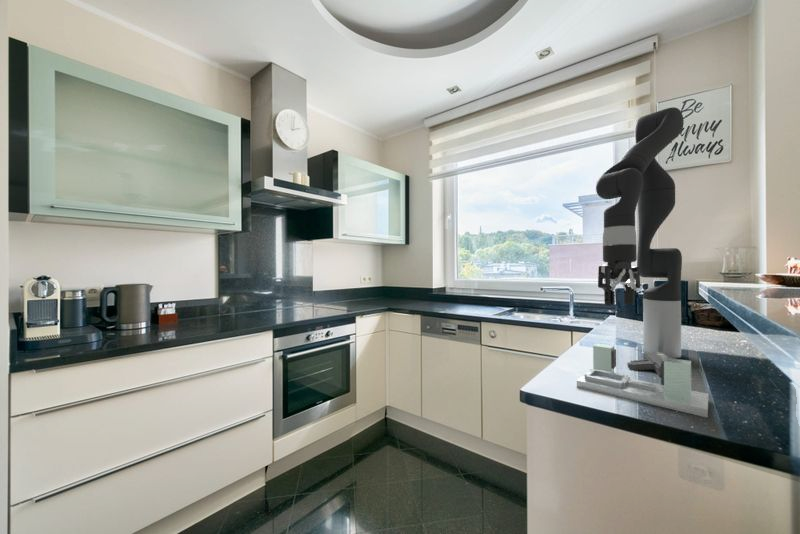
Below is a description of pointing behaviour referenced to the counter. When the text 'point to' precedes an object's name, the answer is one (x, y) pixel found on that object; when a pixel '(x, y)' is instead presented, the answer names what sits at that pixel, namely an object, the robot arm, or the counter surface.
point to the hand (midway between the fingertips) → (619, 304)
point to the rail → (652, 387)
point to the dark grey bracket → (648, 362)
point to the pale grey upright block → (604, 357)
